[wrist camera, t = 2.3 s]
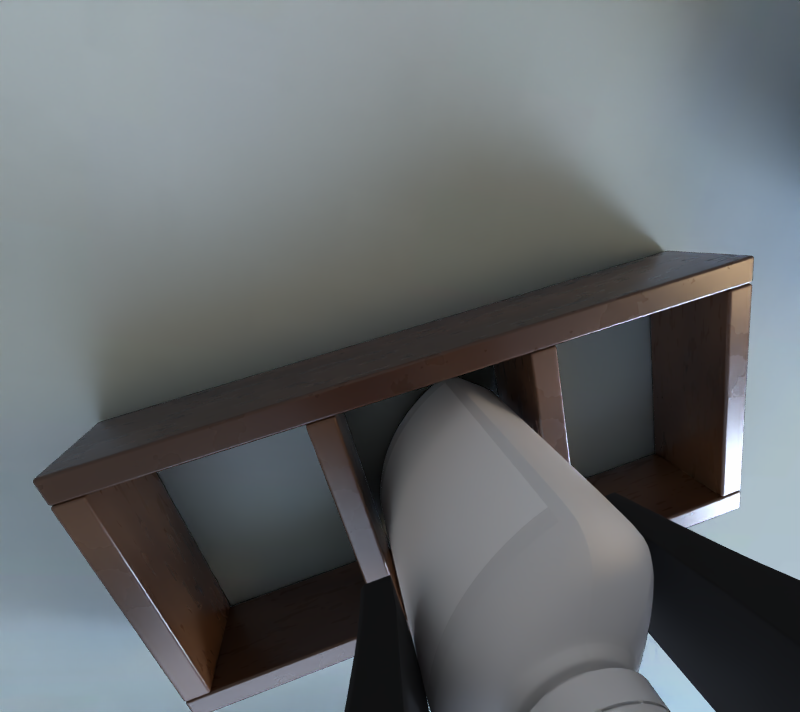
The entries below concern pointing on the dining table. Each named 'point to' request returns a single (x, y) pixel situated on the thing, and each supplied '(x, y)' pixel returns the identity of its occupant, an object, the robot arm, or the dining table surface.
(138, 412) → the spice rack
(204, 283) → the dining table surface
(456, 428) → the eye dropper bottle
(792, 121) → the dining table surface
